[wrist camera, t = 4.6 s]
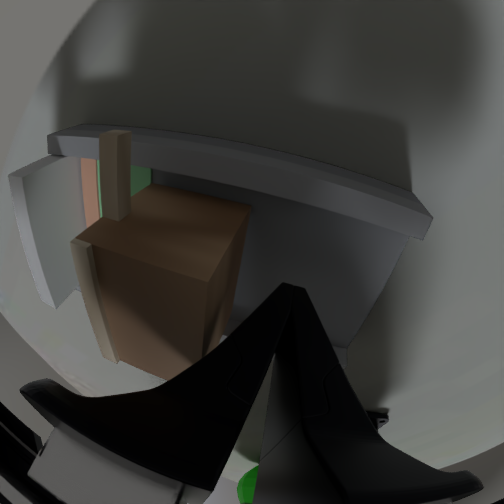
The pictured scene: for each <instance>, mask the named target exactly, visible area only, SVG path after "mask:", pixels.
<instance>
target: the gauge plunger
mask: <svg viewBox="0 0 504 504" xmlns="http://www.w3.org/2000/svg"><path fill="white" fill-rule="evenodd" d="M131 138H132V131H125V130H111V131H108V132H104V133H101V134H99V170H100V192H101V206H102V217H101V218H100V219H99V220H97V221H96V222H95V223H93V224H92V225H91V226H89V227H88V228H87V229H85V230H84V231H83V232H81V233H80V234H79V235H78V236H76V237H75V238H74V239H73V240H71V241H70V247H71V252H72V257H73V261H74V265H75V270H76V274H77V278H78V282H79V285H80V289H81V293H82V296H83V300H84V303H85V306H86V309H87V313H88V316H89V319H90V322H91V325H92V328H93V331H94V334H95V336H96V339H97V342H98V345H99V347H100V350H101V352H102V355H103V357H104V358H106V359H108V360H110V361H112V362H114V363H116V364H117V363H118V362H119V360H121V361H123V362H125V363H128V364H130V365H132V366H134V367H136V368H139V369H141V370H143V371H146V372H148V373H150V374H153V375H155V376H158V377H160V378H163V379H165V380H168V381H169V380H170V379H172V378H173V377H175V376H176V375H178V374H179V373H181V372H182V371H184V370H185V369H187V368H188V367H190V366H191V365H193V364H194V363H196V362H197V361H199V360H200V359H201V358H203V357H204V356H205V355H207V354H208V353H209V352H211V351H212V350H213V349H214V348H215V347H217V346H218V345H219V342H220V340H221V337H222V335H223V332H224V330H225V327H226V325H227V322H228V320H229V317H230V315H231V312H232V307H233V302H234V297H235V291H236V286H237V280H238V275H239V270H240V264H241V259H242V254H243V248H244V243H245V238H246V233H247V227H248V222H249V217H250V212H251V205H247V204H243V203H239V202H235V201H231V200H226V199H222V198H218V197H214V196H209V195H205V194H201V193H196V192H192V191H187V190H183V189H178V188H174V187H169V186H164V185H160V184H155V183H151V184H150V185H148V186H147V187H145V188H143V189H142V190H140V191H139V192H137V193H136V194H134V195H133V196H131Z"/></svg>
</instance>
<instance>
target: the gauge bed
mask: <svg viewBox="0 0 504 504" xmlns="http://www.w3.org/2000/svg"><path fill="white" fill-rule="evenodd" d="M111 130H125V131H132V138H131V196H133V195H134V194H136V193H137V192H139V191H140V190H142V189H143V188H145V187H147V186H148V185H150V184H151V183H155V184H160V185H164V186H169V187H174V188H178V189H183V190H187V191H192V192H196V193H201V194H205V195H209V196H214V197H218V198H222V199H226V200H231V201H235V202H239V203H243V204H247V205H251V212H250V217H249V222H248V227H247V233H246V238H245V243H244V248H243V254H242V259H241V264H240V270H239V275H238V280H237V286H236V291H235V297H234V302H233V307H232V312H231V315H230V317H229V320H228V322H227V325H226V327H225V330H224V332H223V335H222V337H221V340H220V342H219V344H220V343H221V342H222V341H223V340H224V339H225V338H226V337H227V336H228V335H230V334H231V333H232V332H233V331H234V330H235V329H236V328H237V327H238V326H239V325H240V324H241V323H242V322H243V321H244V320H245V319H246V318H247V317H248V316H249V315H250V314H251V313H252V312H253V311H254V310H255V309H256V308H257V307H258V306H259V305H260V304H261V303H262V302H263V301H264V300H265V299H266V298H267V297H268V296H269V295H270V294H271V293H272V292H273V291H274V290H275V289H276V288H277V287H278V286H279V285H280V284H281V283H282V282H285V283H289V284H292V285H296V286H300V287H303V288H305V289H306V291H307V293H308V295H309V297H310V299H311V301H312V303H313V305H314V307H315V310H316V312H317V314H318V316H319V318H320V320H321V322H322V325H323V327H324V329H325V331H326V333H327V335H328V337H329V340H330V342H331V344H332V346H333V348H334V351H335V353H336V355H337V357H338V359H339V363H340V364H341V366H342V368H343V370H344V369H345V368H346V367H347V348H348V346H349V344H350V343H351V341H352V340H353V338H354V337H355V335H356V334H357V332H358V330H359V329H360V327H361V326H362V324H363V322H364V321H365V319H366V317H367V316H368V314H369V312H370V311H371V309H372V307H373V306H374V304H375V302H376V300H377V299H378V297H379V295H380V293H381V292H382V290H383V288H384V286H385V284H386V282H387V281H388V279H389V277H390V275H391V273H392V271H393V269H394V267H395V265H396V263H397V261H398V259H399V257H400V255H401V253H402V251H403V249H404V247H405V245H406V243H407V241H408V239H409V236H411V237H414V238H417V239H420V240H423V239H424V237H425V235H426V233H427V231H428V229H429V227H430V224H431V222H432V220H433V217H432V216H431V214H430V213H429V212H428V211H427V209H426V208H425V207H424V206H423V204H422V203H421V202H420V201H419V200H418V198H417V197H416V196H415V195H414V194H413V193H412V192H410V191H407V190H404V189H402V188H399V187H396V186H394V185H391V184H388V183H385V182H383V181H380V180H377V179H374V178H371V177H368V176H365V175H362V174H359V173H356V172H353V171H350V170H346V169H343V168H340V167H336V166H333V165H330V164H326V163H323V162H319V161H316V160H312V159H308V158H305V157H301V156H297V155H293V154H289V153H285V152H281V151H277V150H272V149H268V148H264V147H259V146H254V145H250V144H245V143H240V142H235V141H230V140H224V139H219V138H213V137H207V136H201V135H194V134H188V133H181V132H173V131H165V130H157V129H147V128H137V127H126V126H112V125H92V124H81V125H77V126H74V127H71V128H68V129H64V130H61V131H58V132H55V133H52V134H49V135H47V143H48V154H52V155H49V156H47V157H45V158H42V159H40V160H38V161H36V162H33V163H31V164H29V165H27V166H25V167H23V168H21V169H19V170H17V171H15V172H13V173H11V174H9V175H8V176H9V183H10V189H11V195H12V201H13V206H14V211H15V215H16V220H17V224H18V228H19V232H20V236H21V240H22V244H23V247H24V251H25V254H26V257H27V261H28V264H29V267H30V270H31V273H32V276H33V279H34V282H35V284H36V287H37V290H38V292H39V295H40V298H41V300H42V301H43V302H45V303H46V304H48V305H50V306H51V307H53V308H55V309H57V308H58V307H59V306H60V305H61V303H62V302H63V301H64V300H65V299H66V298H67V297H68V296H69V295H70V294H71V293H72V292H73V291H74V290H75V289H76V290H78V291H80V292H81V289H80V285H79V282H78V278H77V274H76V270H75V265H74V261H73V257H72V252H71V247H70V241H71V240H73V239H74V238H75V237H76V236H78V235H79V234H80V233H81V232H83V231H84V230H85V229H87V228H88V227H89V226H91V225H92V224H93V223H95V222H96V221H97V220H99V219H100V218H101V217H102V206H101V192H100V170H99V134H101V133H104V132H108V131H111ZM274 354H275V353H274ZM272 361H274V356H273V358H272Z"/></svg>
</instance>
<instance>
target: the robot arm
mask: <svg viewBox="0 0 504 504" xmlns="http://www.w3.org/2000/svg"><path fill="white" fill-rule="evenodd" d="M274 353H275V354H274ZM273 356H274V363H273V370H272V378H271V386H270V393H269V401H268V408H267V415H266V422H265V429H264V435H263V442H262V448H261V455H260V462H259V467H258V473H257V479H256V485H255V490H254V496H253V502H252V504H453V502H454V501H457V500H460V499H462V498H465V497H467V496H470V495H472V494H475V493H477V492H479V491H480V490H482V489H483V488H484V487H483V484H482V482H481V480H480V479H479V478H478V477H477V476H475V475H474V474H473V473H471V472H470V471H467V470H464V471H459V472H452V473H451V472H443V471H440V470H437V469H435V468H433V467H431V466H429V465H427V464H425V463H423V462H421V461H419V460H417V459H415V458H413V457H411V456H410V455H408V454H406V453H404V452H402V451H401V450H399V449H397V448H395V447H393V446H392V445H390V444H389V443H387V442H386V441H385V440H384V439H383V438H382V437H381V436H380V434H379V433H378V429H379V428H380V427H382V426H383V425H384V424H386V423H387V422H388V421H389V418H388V415H386V414H376V413H366V411H365V410H364V408H363V406H362V405H361V403H360V401H359V400H358V398H357V396H356V394H355V392H354V391H353V389H352V387H351V385H350V383H349V381H348V379H347V377H346V375H345V373H344V370H343V368H342V366H341V364H340V363H339V359H338V357H337V355H336V353H335V351H334V348H333V346H332V344H331V342H330V340H329V337H328V335H327V333H326V331H325V329H324V327H323V325H322V322H321V320H320V318H319V316H318V314H317V312H316V310H315V307H314V305H313V303H312V301H311V299H310V297H309V295H308V293H307V291H306V289H305V288H303V287H300V286H296V285H292V284H289V283H285V282H282V283H281V284H280V285H279V286H278V287H277V288H276V289H275V290H274V291H273V292H272V293H271V294H270V295H269V296H268V297H267V298H266V299H265V300H264V301H263V302H262V303H261V304H260V305H259V306H258V307H257V308H256V309H255V310H254V311H253V312H252V313H251V314H250V315H249V316H248V317H247V318H246V319H245V320H244V321H243V322H242V323H241V324H240V325H239V326H238V327H237V328H236V329H235V330H234V331H233V332H232V333H231V334H230V335H228V336H227V337H226V338H225V339H224V340H223V341H222V342H221V343H220V344H219V345H218V346H217V347H215V348H214V349H213V350H212V351H211V352H209V353H208V354H207V355H205V356H204V357H203V358H201V359H200V360H199V361H197V362H196V363H194V364H193V365H191V366H190V367H188V368H187V369H185V370H184V371H182V372H181V373H179V374H178V375H176V376H175V377H173V378H172V379H170V380H169V381H167V382H165V383H164V384H162V385H160V386H158V387H155V388H153V389H149V390H144V391H138V392H132V393H126V394H119V395H111V396H103V397H85V396H81V395H77V394H75V393H73V392H71V391H69V390H68V389H66V388H64V387H63V386H61V385H60V384H58V383H57V382H55V381H53V380H51V379H47V378H46V379H42V380H37V381H33V382H30V383H28V384H26V385H24V386H23V387H22V388H20V393H21V394H22V395H23V396H24V398H25V399H26V400H27V401H28V402H29V403H30V404H31V405H32V406H33V407H34V408H35V409H36V410H37V411H38V412H39V413H40V414H41V415H42V416H43V417H44V418H45V419H46V420H47V421H48V422H49V423H50V424H52V425H53V426H54V429H53V431H52V432H51V434H50V436H49V438H48V439H47V441H46V443H45V444H44V446H43V445H42V441H41V437H40V436H38V435H37V434H36V433H35V432H33V431H32V430H31V429H30V428H28V427H27V426H26V425H25V424H24V423H23V422H22V421H20V420H19V419H18V418H17V417H16V416H15V415H14V414H13V413H12V412H11V411H9V410H8V409H7V408H6V407H5V406H4V405H3V404H2V403H1V402H0V503H1V504H187V503H188V504H203V503H204V502H205V500H206V499H207V498H208V497H209V496H210V494H211V493H212V492H213V491H214V488H215V486H216V484H217V482H218V480H219V478H220V475H221V473H222V471H223V469H224V467H225V465H226V463H227V461H228V458H229V456H230V454H231V452H232V450H233V448H234V445H235V443H236V441H237V439H238V436H239V434H240V432H241V430H242V427H243V425H244V423H245V421H246V418H247V416H248V414H249V412H250V409H251V407H252V405H253V403H254V401H255V398H256V396H257V394H258V391H259V389H260V387H261V384H262V382H263V380H264V377H265V375H266V373H267V370H268V368H269V365H270V363H271V361H272V358H273ZM492 504H504V498H503V499H501V500H499V501H496V502H494V503H492Z"/></svg>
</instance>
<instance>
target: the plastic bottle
mask: <svg viewBox="0 0 504 504" xmlns="http://www.w3.org/2000/svg"><path fill="white" fill-rule="evenodd" d="M258 467H259V465H258V466H256V467H254V468H253V469H251V470H250V471H248V472H247V473H245V474H244V476H243V477H242V478H241V479H240V480H239V483H238V487H237V493H238V498H239V501H240V504H252V502H253V496H254V490H255V485H256V479H257V473H258Z"/></svg>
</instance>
